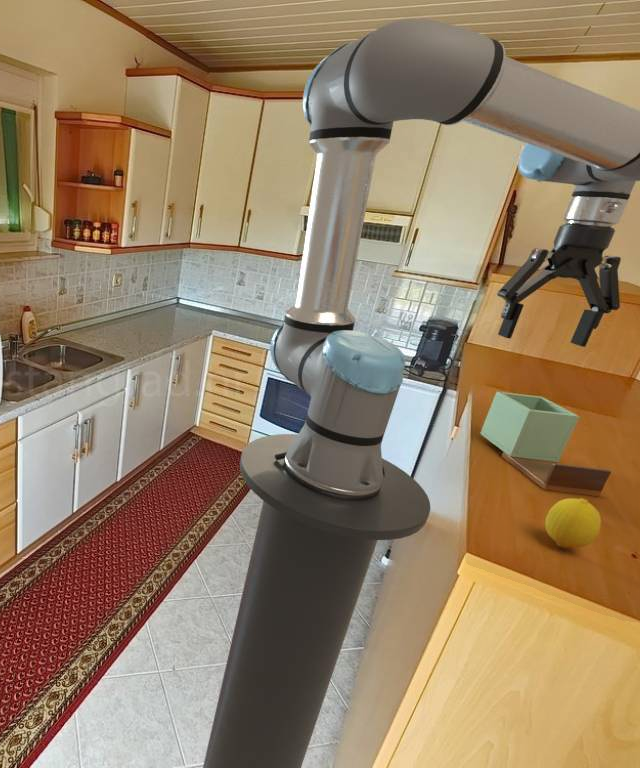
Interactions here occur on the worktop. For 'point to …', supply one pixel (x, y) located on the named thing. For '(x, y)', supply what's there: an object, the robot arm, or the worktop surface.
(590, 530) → the lemon
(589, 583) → the worktop surface
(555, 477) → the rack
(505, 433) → the container
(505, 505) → the worktop surface
